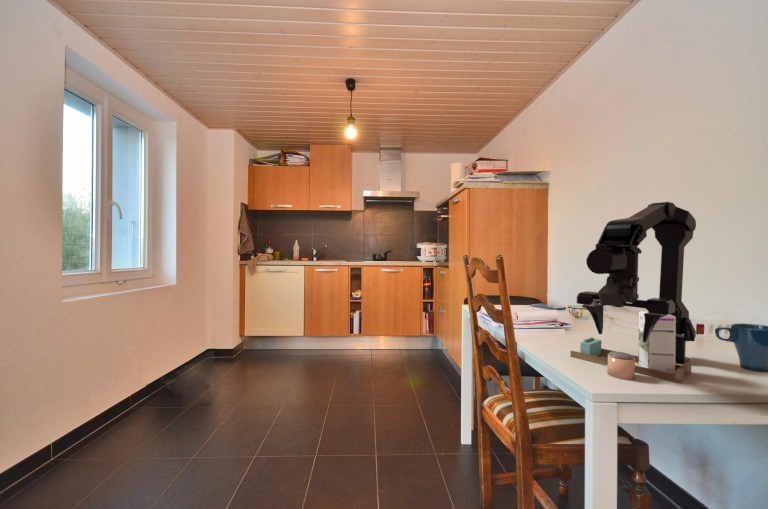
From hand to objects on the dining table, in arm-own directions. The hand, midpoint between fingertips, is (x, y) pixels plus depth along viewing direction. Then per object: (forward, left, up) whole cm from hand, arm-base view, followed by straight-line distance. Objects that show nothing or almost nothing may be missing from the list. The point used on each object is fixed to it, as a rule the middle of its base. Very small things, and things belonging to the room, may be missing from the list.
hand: (621, 337), depth 84 cm
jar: (0, 0, -9) cm, 9 cm away
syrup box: (-10, +4, -9) cm, 15 cm away
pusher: (-10, -11, -9) cm, 17 cm away
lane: (-10, -3, -9) cm, 14 cm away
